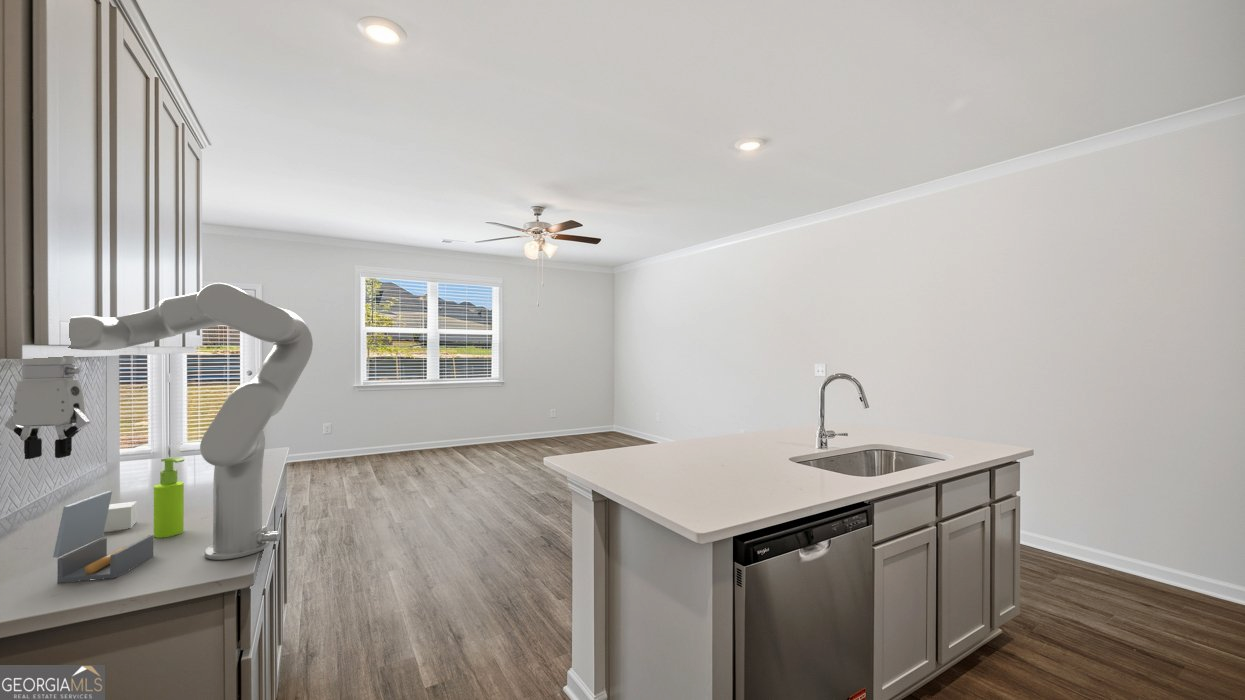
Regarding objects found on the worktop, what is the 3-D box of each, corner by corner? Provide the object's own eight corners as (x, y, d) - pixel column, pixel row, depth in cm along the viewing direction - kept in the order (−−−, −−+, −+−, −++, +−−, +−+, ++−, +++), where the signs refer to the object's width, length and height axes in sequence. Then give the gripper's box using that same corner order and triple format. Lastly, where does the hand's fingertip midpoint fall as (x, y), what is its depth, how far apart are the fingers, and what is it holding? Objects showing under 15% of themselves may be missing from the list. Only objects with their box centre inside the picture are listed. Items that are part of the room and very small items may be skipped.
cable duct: (153, 556, 120) (153, 534, 120) (114, 578, 108) (114, 554, 108) (102, 559, 118) (102, 538, 118) (57, 583, 106) (57, 559, 106)
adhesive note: (136, 522, 143) (137, 501, 143) (131, 528, 138) (131, 506, 138) (107, 526, 140) (107, 504, 140) (100, 532, 135) (100, 510, 135)
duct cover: (112, 491, 118) (108, 490, 118) (68, 506, 106) (63, 506, 106) (102, 536, 118) (98, 536, 117) (57, 557, 106) (52, 557, 106)
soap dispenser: (168, 539, 131) (169, 461, 131) (147, 536, 132) (147, 459, 132) (192, 531, 136) (192, 456, 136) (171, 529, 138) (171, 455, 138)
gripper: (108, 372, 116) (108, 452, 116) (16, 372, 112) (16, 455, 112) (81, 373, 109) (81, 459, 109) (-18, 374, 105) (-18, 462, 105)
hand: (48, 456), depth 110 cm, fingers open, 4 cm apart
